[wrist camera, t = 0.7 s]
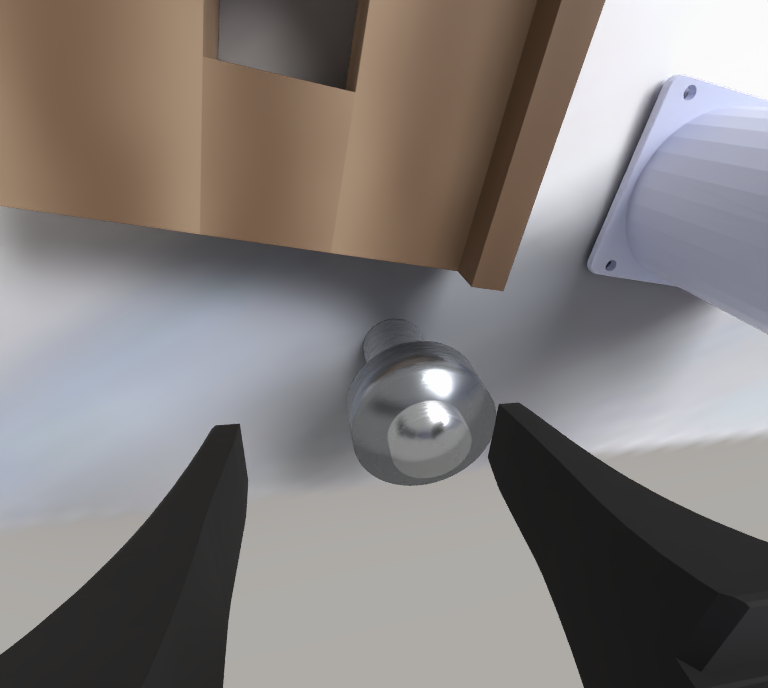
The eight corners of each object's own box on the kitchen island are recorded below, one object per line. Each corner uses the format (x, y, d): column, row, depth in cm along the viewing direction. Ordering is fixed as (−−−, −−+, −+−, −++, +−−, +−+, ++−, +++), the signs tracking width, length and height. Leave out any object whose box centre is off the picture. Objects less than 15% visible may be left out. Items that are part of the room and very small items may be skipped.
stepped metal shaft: (458, 301, 21) (526, 390, 15) (430, 394, 23) (478, 502, 17) (347, 288, 19) (372, 378, 14) (329, 387, 22) (344, 502, 16)
